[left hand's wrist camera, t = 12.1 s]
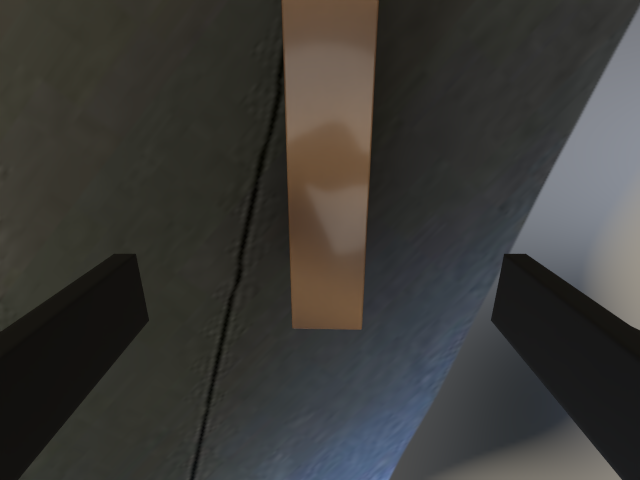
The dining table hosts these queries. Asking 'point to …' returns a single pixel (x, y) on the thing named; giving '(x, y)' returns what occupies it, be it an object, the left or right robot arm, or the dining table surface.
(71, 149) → the dining table surface
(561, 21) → the dining table surface
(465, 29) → the dining table surface
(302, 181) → the bar
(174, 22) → the dining table surface
